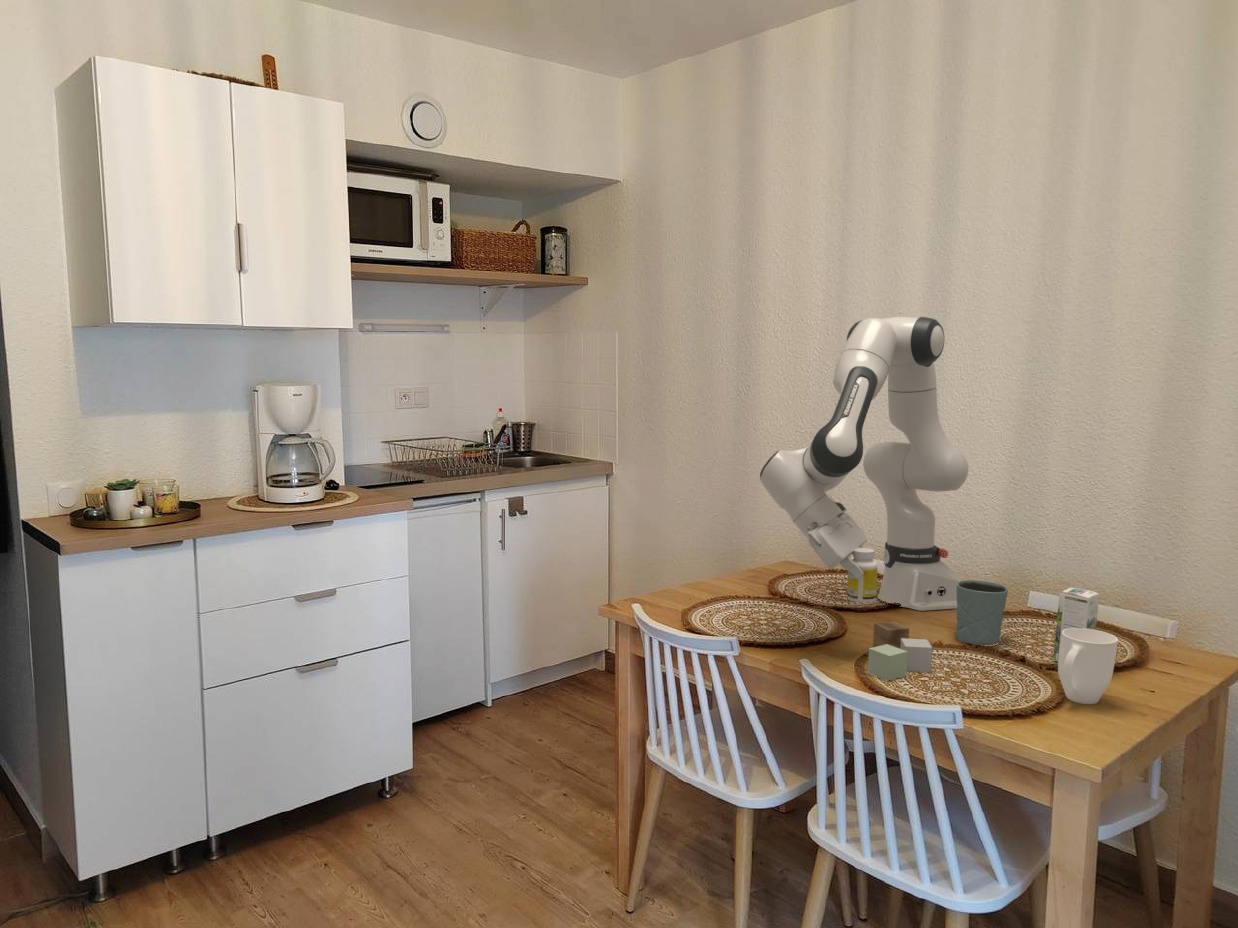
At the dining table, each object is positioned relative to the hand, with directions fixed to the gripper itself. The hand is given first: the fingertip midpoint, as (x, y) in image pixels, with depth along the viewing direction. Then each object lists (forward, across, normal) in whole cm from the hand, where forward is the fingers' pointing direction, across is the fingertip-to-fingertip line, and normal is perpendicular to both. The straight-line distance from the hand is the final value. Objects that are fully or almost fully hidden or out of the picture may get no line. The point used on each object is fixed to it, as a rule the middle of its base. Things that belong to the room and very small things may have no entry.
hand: (866, 572), depth 181 cm
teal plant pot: (+26, +23, -1) cm, 35 cm away
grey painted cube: (+20, -2, +5) cm, 20 cm away
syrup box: (+39, +18, -14) cm, 45 cm away
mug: (+40, -5, -16) cm, 44 cm away
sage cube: (+17, -9, +8) cm, 21 cm away
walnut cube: (+15, +7, +10) cm, 19 cm away
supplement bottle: (+4, 0, +5) cm, 6 cm away
